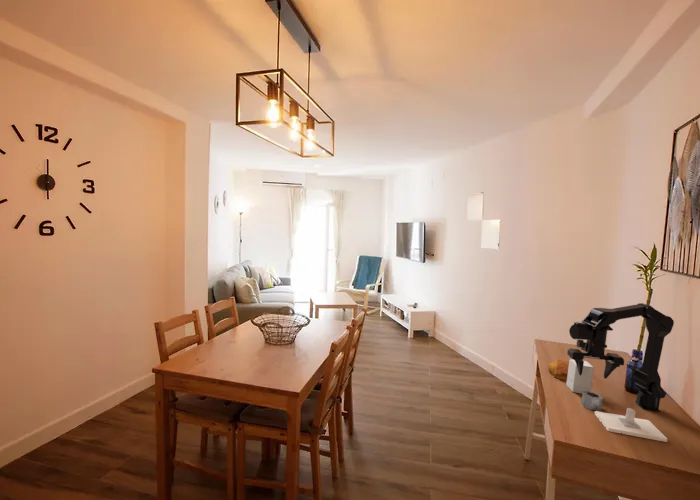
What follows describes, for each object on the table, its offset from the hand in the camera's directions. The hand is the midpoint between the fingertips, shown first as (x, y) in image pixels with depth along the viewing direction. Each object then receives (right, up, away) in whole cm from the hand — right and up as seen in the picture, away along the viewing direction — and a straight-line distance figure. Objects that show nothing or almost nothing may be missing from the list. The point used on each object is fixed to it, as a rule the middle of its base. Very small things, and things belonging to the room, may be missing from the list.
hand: (592, 376), depth 146 cm
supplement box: (+3, -11, +14) cm, 18 cm away
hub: (-1, -12, 0) cm, 12 cm away
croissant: (+6, -10, +28) cm, 30 cm away
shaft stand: (+4, -14, -14) cm, 20 cm away
